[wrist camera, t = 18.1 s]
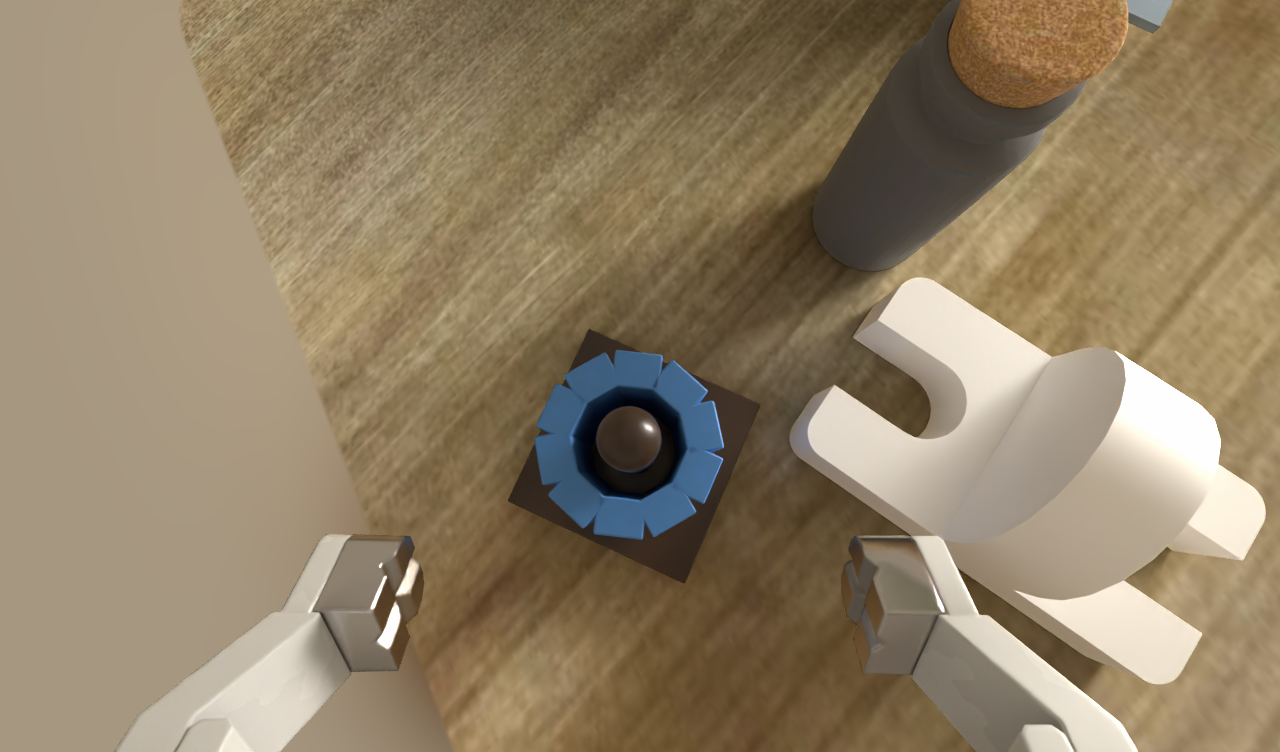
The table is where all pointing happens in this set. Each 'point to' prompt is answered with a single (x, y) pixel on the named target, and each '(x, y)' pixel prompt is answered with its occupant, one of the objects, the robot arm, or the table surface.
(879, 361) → the table surface
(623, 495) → the pen holder
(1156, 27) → the desk lamp
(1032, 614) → the white u-slot block
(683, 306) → the table surface
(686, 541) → the paper towel holder
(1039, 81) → the bottle
